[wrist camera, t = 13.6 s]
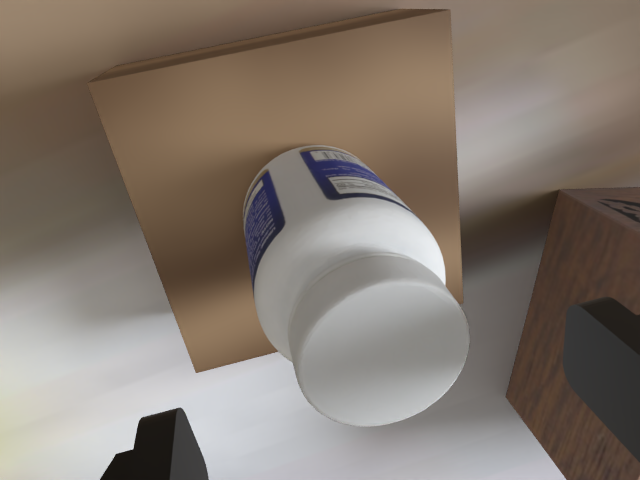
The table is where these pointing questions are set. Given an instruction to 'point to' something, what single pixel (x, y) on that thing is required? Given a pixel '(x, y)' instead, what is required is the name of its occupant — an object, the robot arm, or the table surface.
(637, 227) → the tissue box cover
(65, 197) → the table surface
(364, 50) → the walnut block
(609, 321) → the robot arm
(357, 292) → the pill bottle
